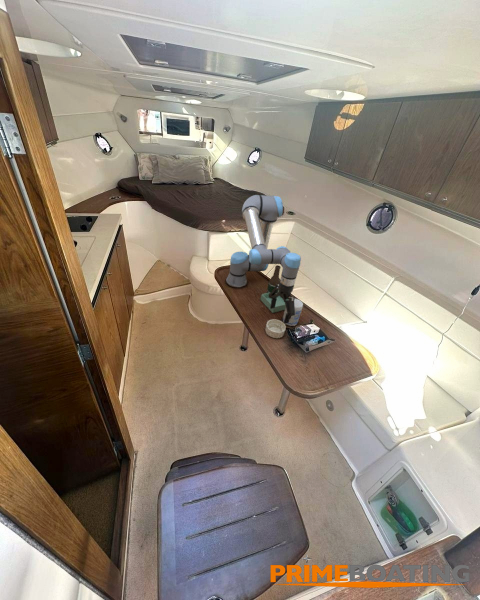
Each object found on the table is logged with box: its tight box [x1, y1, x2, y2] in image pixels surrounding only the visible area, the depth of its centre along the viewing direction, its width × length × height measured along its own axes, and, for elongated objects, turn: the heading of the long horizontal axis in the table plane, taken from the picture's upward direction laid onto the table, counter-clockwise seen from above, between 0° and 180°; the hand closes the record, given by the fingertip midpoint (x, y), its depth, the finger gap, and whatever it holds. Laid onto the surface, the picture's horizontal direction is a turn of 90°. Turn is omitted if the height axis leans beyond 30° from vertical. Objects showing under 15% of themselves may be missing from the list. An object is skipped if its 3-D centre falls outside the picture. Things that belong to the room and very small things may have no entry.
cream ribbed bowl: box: [264, 318, 287, 339], centre depth 146 cm, size 11×11×5 cm
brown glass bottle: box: [266, 264, 282, 299], centre depth 169 cm, size 8×8×24 cm
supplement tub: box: [282, 298, 304, 327], centre depth 152 cm, size 10×10×15 cm
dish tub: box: [259, 290, 288, 314], centre depth 168 cm, size 15×15×5 cm
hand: (279, 315), depth 139 cm, fingers open, 13 cm apart
